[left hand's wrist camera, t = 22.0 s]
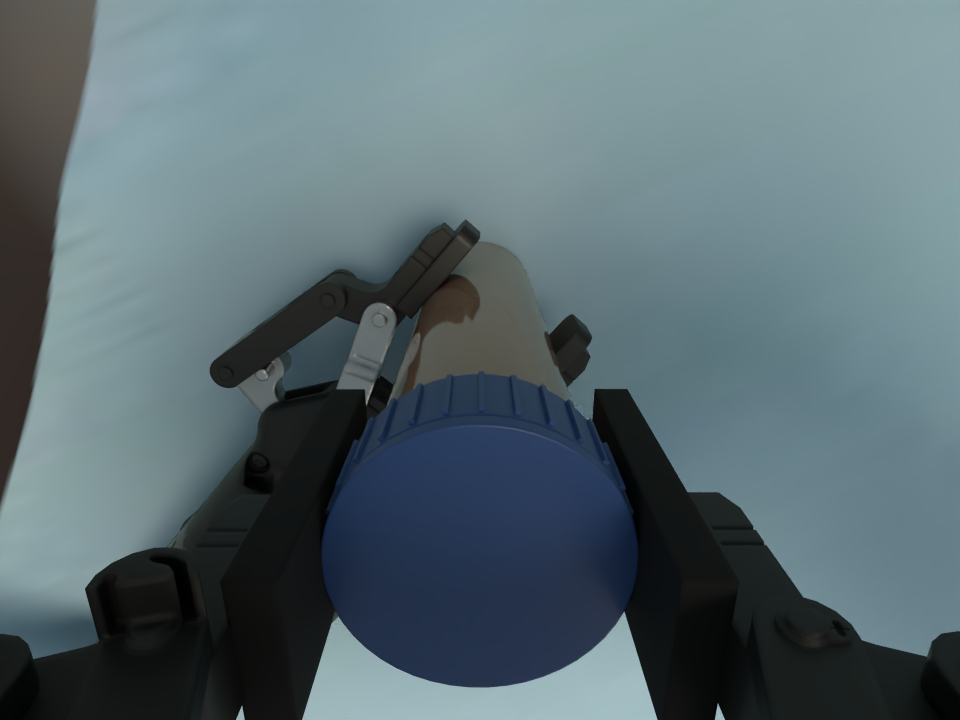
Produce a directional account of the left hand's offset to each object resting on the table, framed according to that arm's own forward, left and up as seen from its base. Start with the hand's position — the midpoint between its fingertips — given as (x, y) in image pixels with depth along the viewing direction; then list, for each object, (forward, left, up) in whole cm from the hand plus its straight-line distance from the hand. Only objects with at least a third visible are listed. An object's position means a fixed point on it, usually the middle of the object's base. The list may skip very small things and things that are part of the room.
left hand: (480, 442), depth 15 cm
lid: (0, 0, +4) cm, 4 cm away
